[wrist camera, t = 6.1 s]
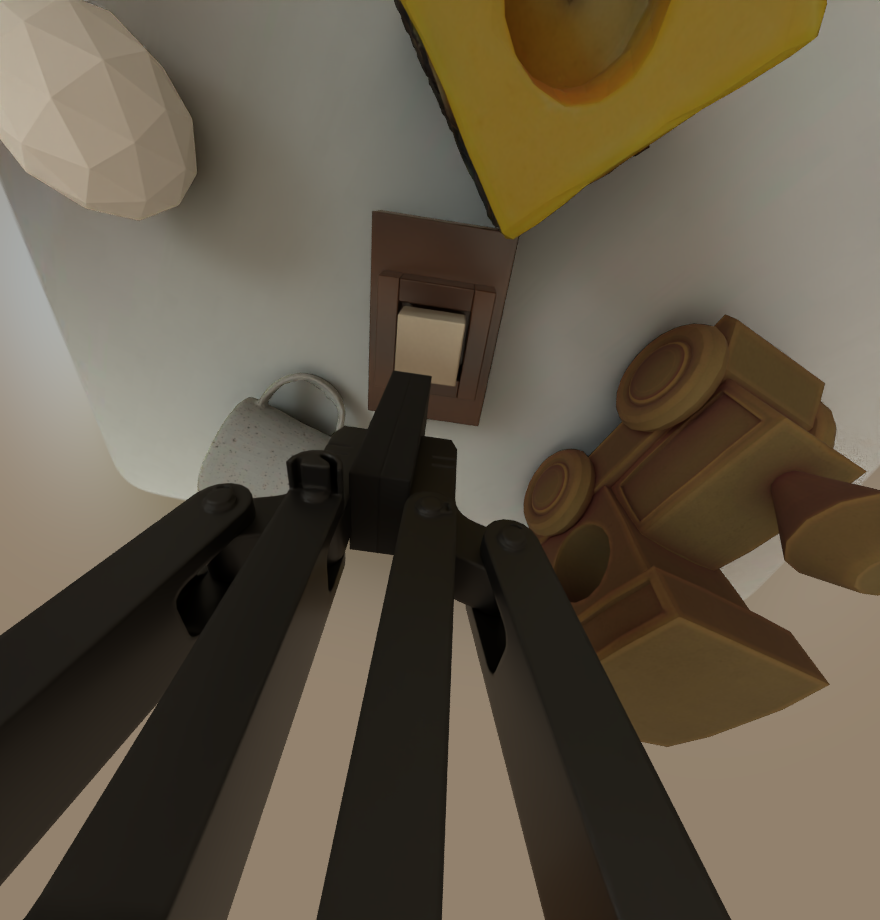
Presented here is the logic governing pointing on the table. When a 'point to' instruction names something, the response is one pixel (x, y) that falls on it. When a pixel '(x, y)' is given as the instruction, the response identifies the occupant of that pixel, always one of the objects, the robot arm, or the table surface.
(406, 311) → the beige square block
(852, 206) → the table surface
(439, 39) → the candle
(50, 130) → the geometric ball
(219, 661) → the robot arm
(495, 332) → the brown stepped block
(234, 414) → the ceramic mug
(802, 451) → the wooden toy train
